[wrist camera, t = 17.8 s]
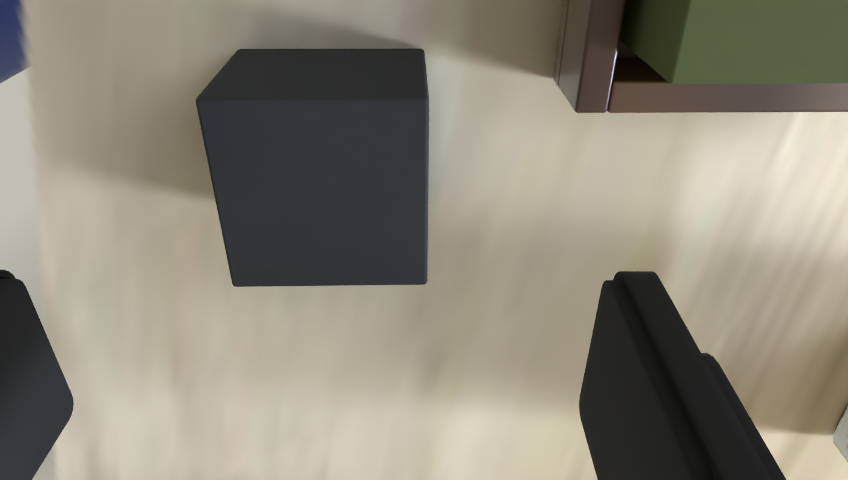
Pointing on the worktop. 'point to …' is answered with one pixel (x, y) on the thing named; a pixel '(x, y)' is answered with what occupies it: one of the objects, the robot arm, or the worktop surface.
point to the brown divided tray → (658, 75)
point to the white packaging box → (842, 435)
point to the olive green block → (740, 40)
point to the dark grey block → (320, 165)
